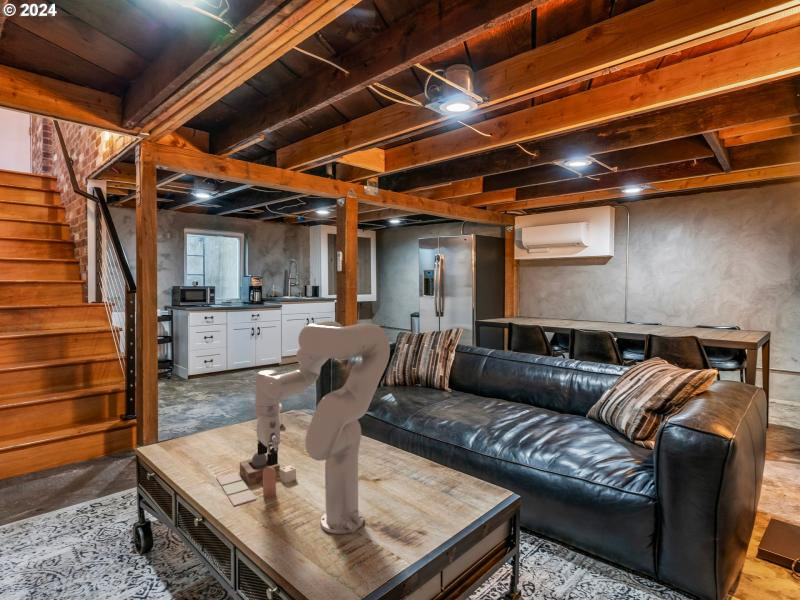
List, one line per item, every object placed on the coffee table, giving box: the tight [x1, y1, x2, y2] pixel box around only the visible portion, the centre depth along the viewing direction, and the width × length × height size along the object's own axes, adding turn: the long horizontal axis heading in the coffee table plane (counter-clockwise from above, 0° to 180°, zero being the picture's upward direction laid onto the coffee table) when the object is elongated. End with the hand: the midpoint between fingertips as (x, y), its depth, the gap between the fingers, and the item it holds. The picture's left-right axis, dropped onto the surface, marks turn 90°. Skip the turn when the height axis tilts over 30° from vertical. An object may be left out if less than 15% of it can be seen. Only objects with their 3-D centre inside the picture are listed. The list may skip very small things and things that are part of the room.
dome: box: [251, 451, 267, 469], centre depth 158 cm, size 5×5×6 cm
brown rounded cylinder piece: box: [262, 466, 277, 499], centre depth 143 cm, size 4×4×10 cm
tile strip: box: [216, 471, 257, 507], centre depth 148 cm, size 23×7×1 cm, turn 36°
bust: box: [278, 402, 285, 427], centre depth 210 cm, size 12×8×11 cm
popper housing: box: [239, 455, 281, 485], centre depth 158 cm, size 11×11×4 cm
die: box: [279, 464, 297, 484], centre depth 154 cm, size 4×4×4 cm
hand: (267, 459), depth 143 cm, fingers open, 9 cm apart
